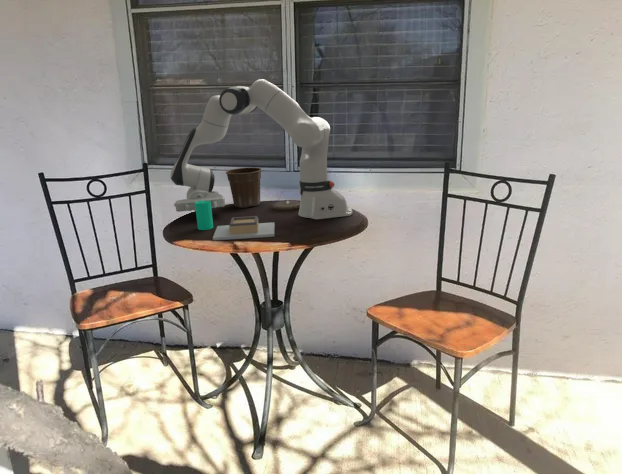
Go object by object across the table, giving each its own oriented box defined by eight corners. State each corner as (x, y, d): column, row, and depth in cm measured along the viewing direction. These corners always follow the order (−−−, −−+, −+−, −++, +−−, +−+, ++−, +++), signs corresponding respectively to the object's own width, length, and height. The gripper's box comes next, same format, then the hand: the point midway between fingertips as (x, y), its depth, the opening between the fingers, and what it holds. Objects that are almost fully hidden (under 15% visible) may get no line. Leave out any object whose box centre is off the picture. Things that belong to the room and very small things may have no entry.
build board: (274, 224, 197) (273, 212, 196) (274, 236, 182) (273, 223, 181) (217, 228, 196) (216, 216, 195) (212, 240, 181) (211, 227, 180)
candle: (209, 230, 195) (206, 199, 191) (195, 230, 196) (191, 199, 192) (215, 225, 200) (212, 196, 197) (201, 225, 201) (198, 196, 198)
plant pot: (224, 209, 227) (220, 173, 222) (234, 201, 242) (231, 167, 237) (259, 208, 224) (256, 172, 219) (267, 200, 239) (265, 166, 235)
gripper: (172, 196, 213) (174, 202, 200) (221, 190, 219) (226, 196, 206) (174, 210, 215) (176, 218, 202) (222, 205, 220) (227, 212, 208)
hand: (201, 207), depth 204 cm, fingers open, 8 cm apart
